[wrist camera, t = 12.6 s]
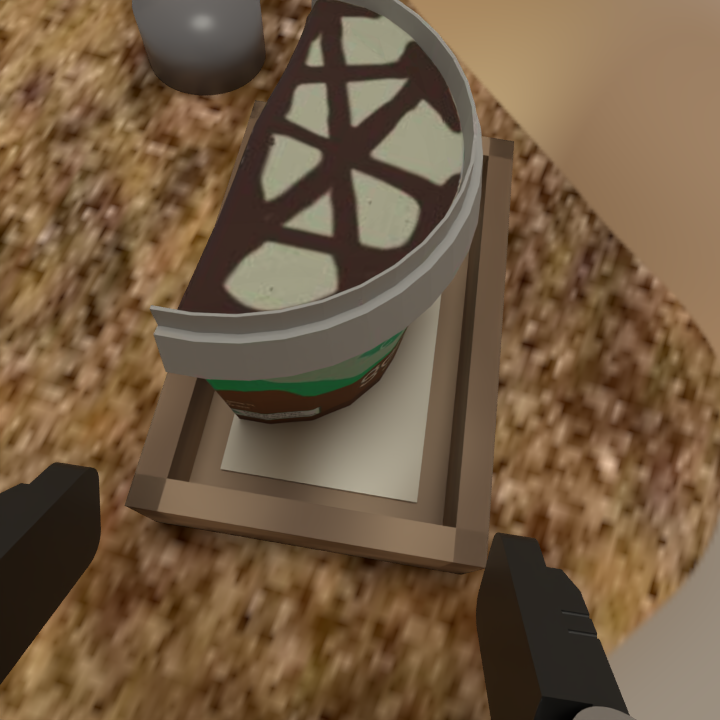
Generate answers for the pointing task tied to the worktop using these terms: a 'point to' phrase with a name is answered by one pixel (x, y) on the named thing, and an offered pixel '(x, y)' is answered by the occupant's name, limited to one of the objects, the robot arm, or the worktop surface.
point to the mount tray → (358, 433)
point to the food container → (334, 219)
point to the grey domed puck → (202, 42)
